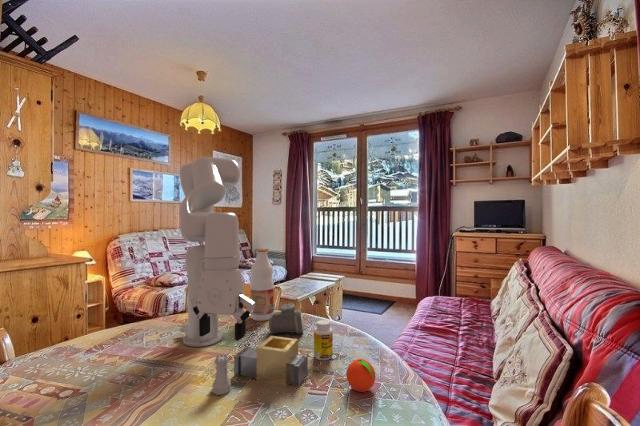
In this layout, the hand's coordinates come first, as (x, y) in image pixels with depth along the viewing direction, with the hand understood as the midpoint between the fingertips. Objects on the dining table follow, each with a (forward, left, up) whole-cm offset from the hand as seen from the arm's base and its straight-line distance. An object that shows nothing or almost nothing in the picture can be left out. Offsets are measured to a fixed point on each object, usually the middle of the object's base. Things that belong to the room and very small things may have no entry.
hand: (222, 336), depth 74 cm
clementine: (+32, +10, -13) cm, 36 cm away
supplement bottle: (+18, +24, -13) cm, 33 cm away
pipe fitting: (0, +38, -13) cm, 41 cm away
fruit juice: (-16, +50, -13) cm, 55 cm away
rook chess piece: (0, 0, -13) cm, 13 cm away
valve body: (+8, +10, -13) cm, 18 cm away
